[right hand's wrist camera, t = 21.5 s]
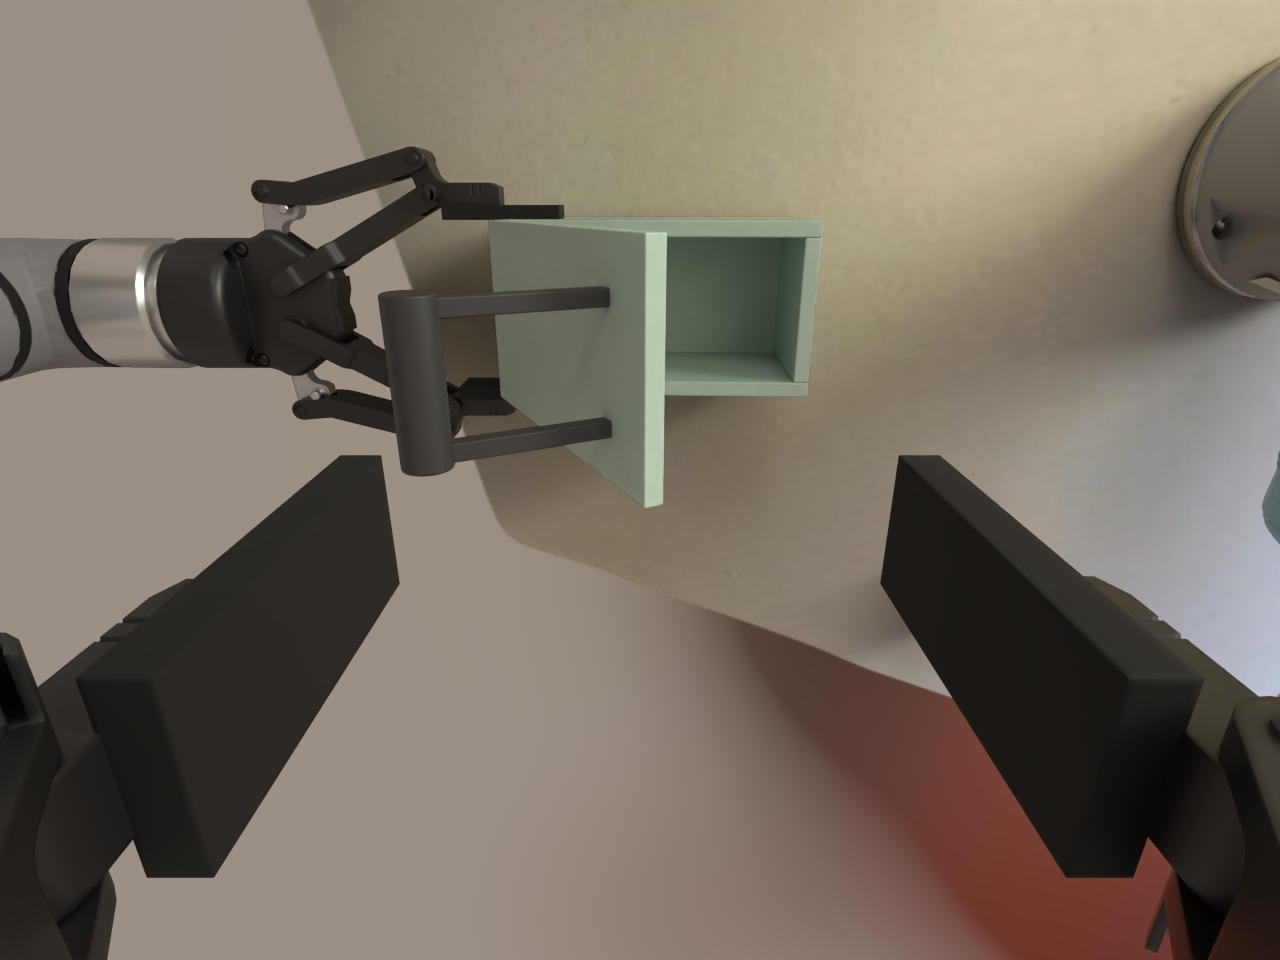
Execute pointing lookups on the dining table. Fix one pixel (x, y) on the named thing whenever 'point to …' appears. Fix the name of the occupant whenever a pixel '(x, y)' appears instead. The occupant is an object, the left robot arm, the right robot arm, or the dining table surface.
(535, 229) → the lid
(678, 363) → the chest
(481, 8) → the dining table surface
